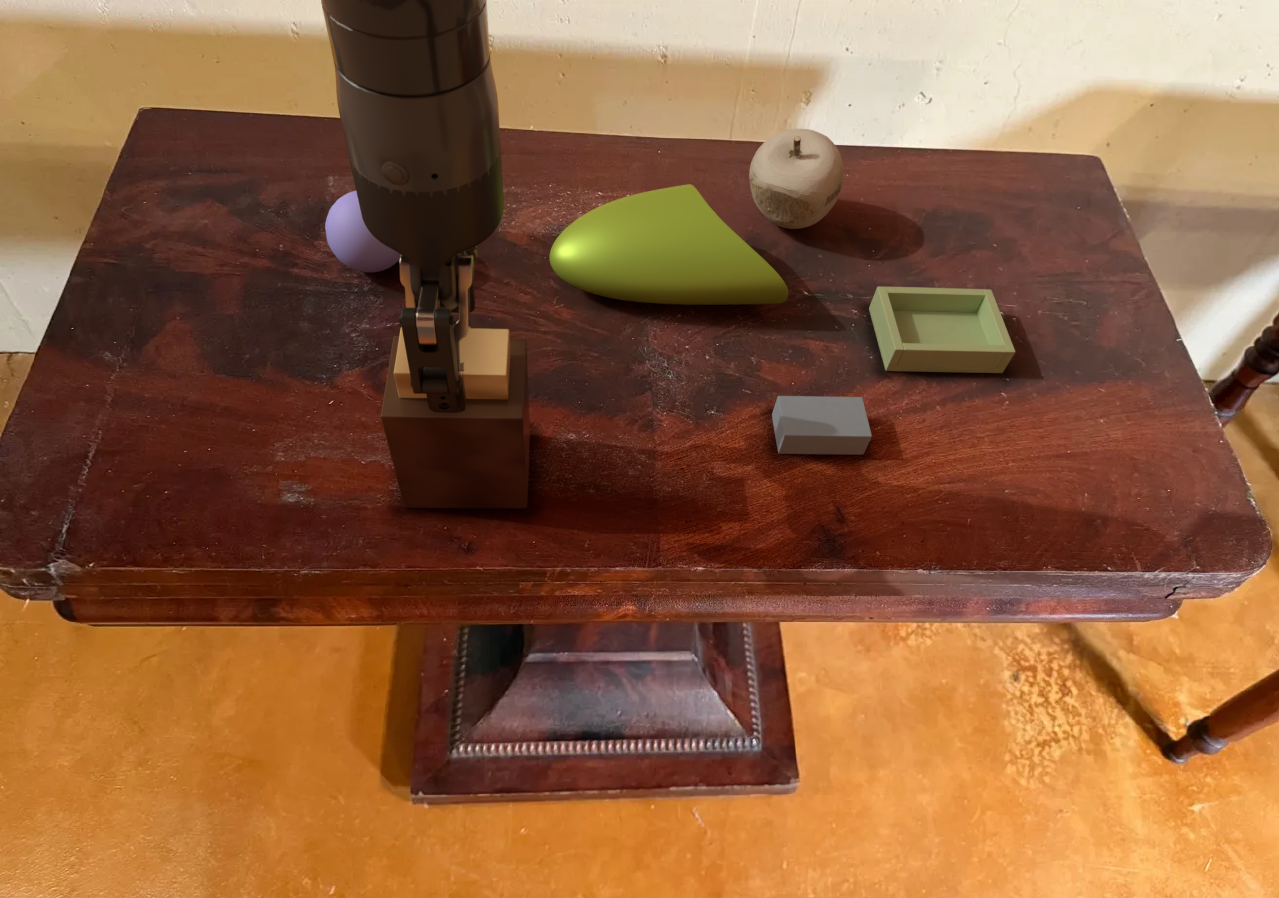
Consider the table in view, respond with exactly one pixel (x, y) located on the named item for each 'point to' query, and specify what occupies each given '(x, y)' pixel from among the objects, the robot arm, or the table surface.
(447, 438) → the stand
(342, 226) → the sphere
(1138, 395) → the table surface
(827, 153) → the decorative object
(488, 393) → the birch pad
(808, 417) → the rubber pad
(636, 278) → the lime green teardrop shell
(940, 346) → the olive green tray
